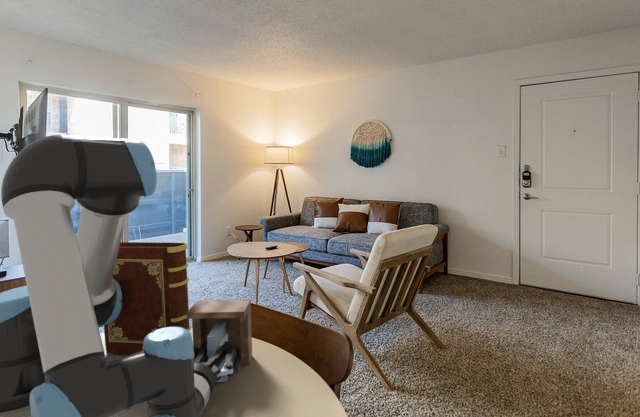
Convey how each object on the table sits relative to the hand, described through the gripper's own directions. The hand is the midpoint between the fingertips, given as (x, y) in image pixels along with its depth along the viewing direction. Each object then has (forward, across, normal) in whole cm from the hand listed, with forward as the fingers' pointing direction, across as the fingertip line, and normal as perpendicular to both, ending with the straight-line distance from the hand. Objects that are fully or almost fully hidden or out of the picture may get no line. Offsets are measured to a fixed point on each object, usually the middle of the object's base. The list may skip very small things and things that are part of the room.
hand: (221, 338), depth 97 cm
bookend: (-4, 0, -7) cm, 8 cm away
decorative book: (+10, -22, -7) cm, 25 cm away
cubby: (0, 0, -7) cm, 7 cm away
